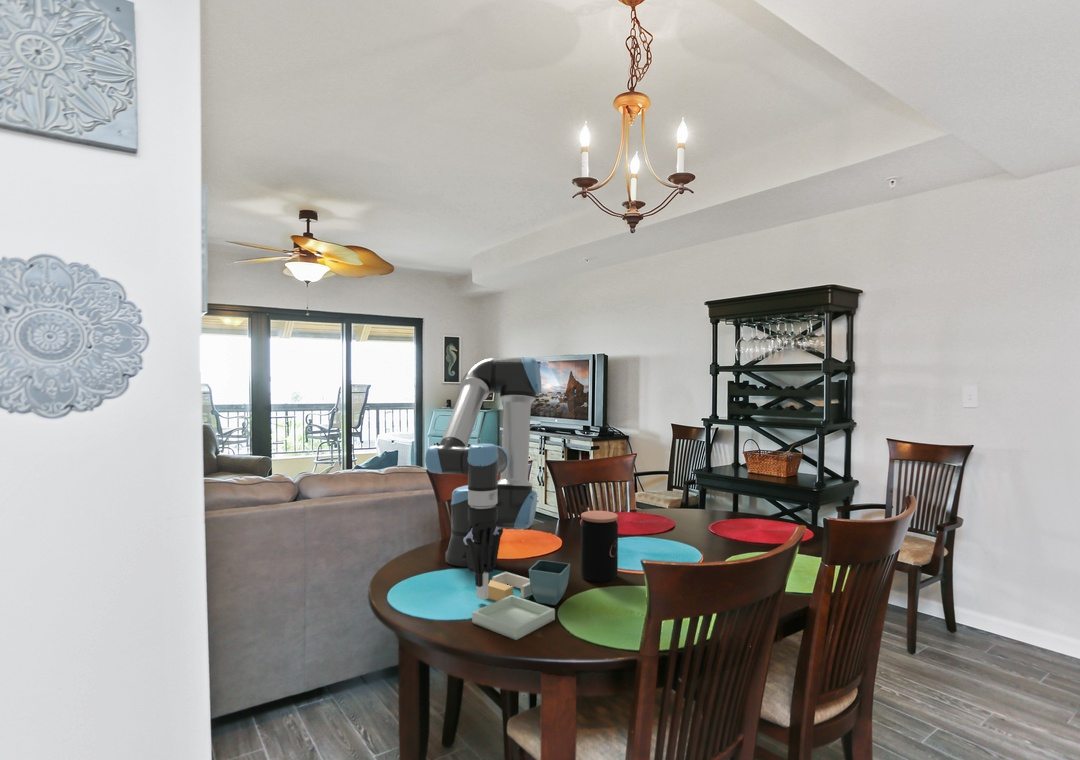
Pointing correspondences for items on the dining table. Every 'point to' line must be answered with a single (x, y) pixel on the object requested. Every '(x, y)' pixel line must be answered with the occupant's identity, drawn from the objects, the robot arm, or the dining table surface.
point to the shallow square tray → (513, 616)
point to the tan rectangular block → (499, 590)
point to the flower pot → (549, 581)
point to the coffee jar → (599, 546)
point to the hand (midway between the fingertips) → (482, 597)
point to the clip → (515, 582)
